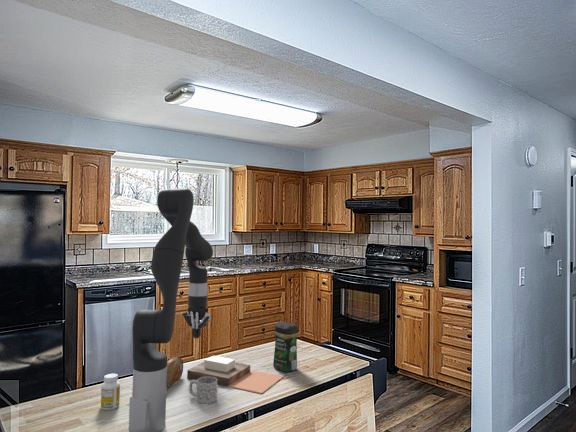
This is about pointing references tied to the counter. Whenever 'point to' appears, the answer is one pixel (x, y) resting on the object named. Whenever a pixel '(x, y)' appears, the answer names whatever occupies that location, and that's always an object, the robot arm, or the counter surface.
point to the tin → (174, 370)
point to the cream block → (219, 363)
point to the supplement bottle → (110, 392)
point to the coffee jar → (285, 346)
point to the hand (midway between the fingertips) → (196, 337)
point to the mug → (205, 390)
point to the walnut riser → (219, 373)
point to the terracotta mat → (256, 382)
